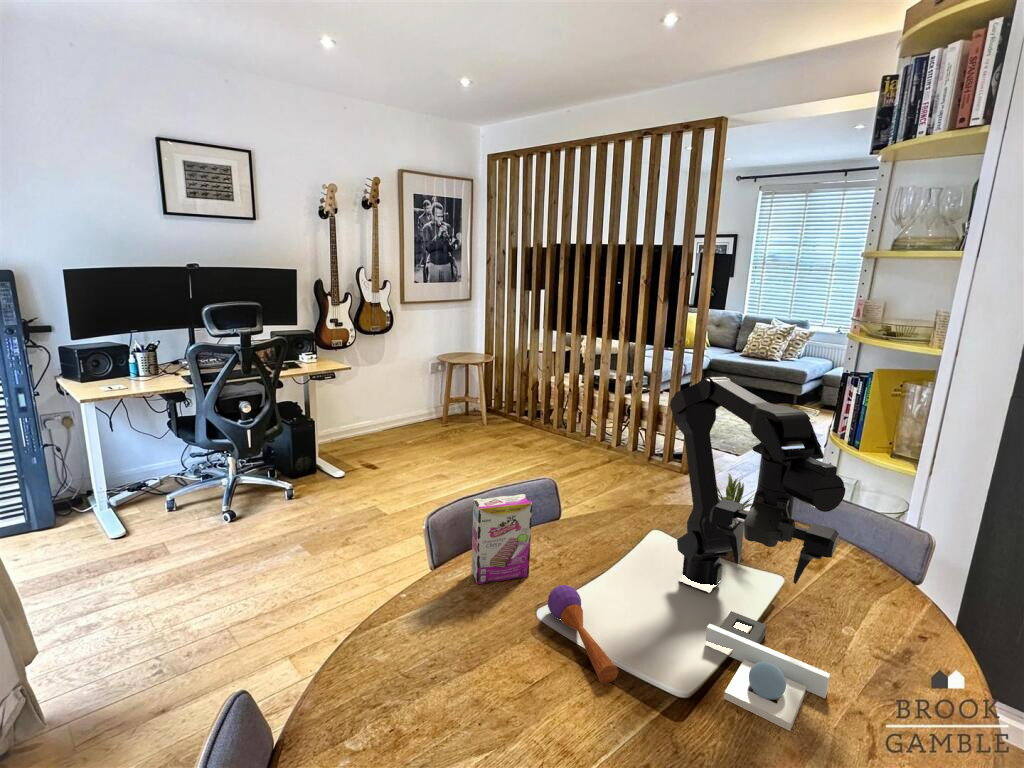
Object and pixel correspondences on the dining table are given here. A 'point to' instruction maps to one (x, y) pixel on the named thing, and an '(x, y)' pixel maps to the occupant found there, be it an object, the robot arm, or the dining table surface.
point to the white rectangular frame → (762, 707)
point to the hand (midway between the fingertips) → (765, 572)
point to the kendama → (580, 629)
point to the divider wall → (771, 659)
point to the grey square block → (757, 627)
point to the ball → (767, 680)
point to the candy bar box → (501, 538)
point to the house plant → (731, 493)
